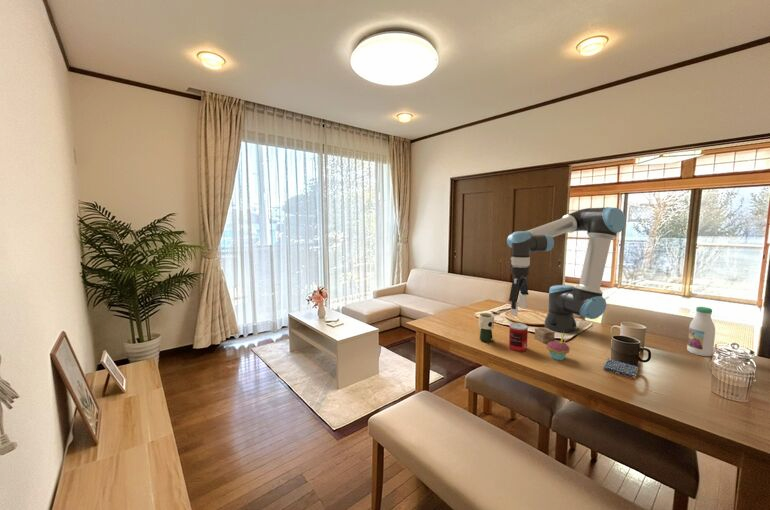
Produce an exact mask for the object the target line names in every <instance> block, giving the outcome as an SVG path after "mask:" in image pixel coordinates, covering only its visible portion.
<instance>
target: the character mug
mask: <svg viewBox="0 0 770 510" xmlns="http://www.w3.org/2000/svg"><path fill="white" fill-rule="evenodd" d="M494 321H495V315H494V314H492V313H490V312H480V313H479V314H478V328H479V329H480V333H479V340H481V341H483V342H492V341H494V339H493V332H492V331H493V329H494V327H495V326H494Z"/></svg>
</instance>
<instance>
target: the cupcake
mask: <svg viewBox="0 0 770 510" xmlns="http://www.w3.org/2000/svg"><path fill="white" fill-rule="evenodd" d="M564 336H565V332H562V335H561V338H560V340H554V341H551V342H547V343H546V345H545V347H546V350H548V351H549V354H550V356H551V359H553V360H557V361H563V360H564V359H565V357H566V355H567V354H569V352H570V350H571V349H570V347H569V345H568V344H566V343H565V342H563V341H564Z"/></svg>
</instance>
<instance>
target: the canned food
mask: <svg viewBox="0 0 770 510" xmlns="http://www.w3.org/2000/svg"><path fill="white" fill-rule="evenodd" d="M528 329H529V328H528V325H526V324H525V323H522V322H511V323H509V331H508V332H509V338H508V339H509V340H508V341H509V342H508V344H509V345H508V346H509V348H510V350H512V351H514V352H518V353H519V352H526V351H527V349H528V332H529V331H528Z"/></svg>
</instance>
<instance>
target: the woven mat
mask: <svg viewBox="0 0 770 510" xmlns="http://www.w3.org/2000/svg"><path fill="white" fill-rule="evenodd" d="M638 368H639V367H638V366H637V365H634V364H630V363H625V362H621V361H619V360H615V359H613V360H612V359H610V358H608V359H607V358H606V360H605V363H604V366H603V368H602V370H603V371H604V372H607V373H610V374H611V373H612V374H615V375H618V376H622V377H626V378H629V379H633V380H635V379H637V375H638V373H639V372H638V371H639V369H638Z"/></svg>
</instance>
